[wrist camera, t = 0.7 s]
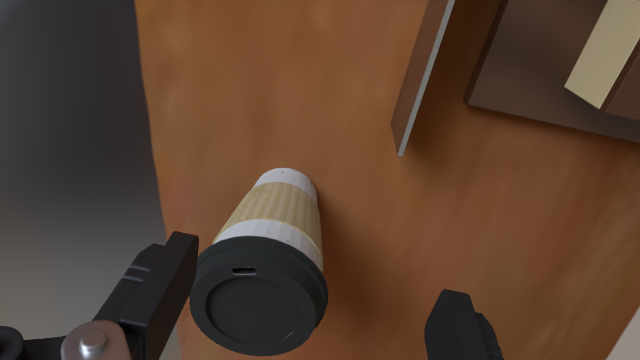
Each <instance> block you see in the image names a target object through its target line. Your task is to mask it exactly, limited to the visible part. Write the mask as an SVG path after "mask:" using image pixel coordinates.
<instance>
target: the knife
mask: <svg viewBox="0 0 640 360" xmlns="http://www.w3.org/2000/svg"><path fill="white" fill-rule="evenodd" d="M454 3H455V0H429V1H428V5H427V8H426V11H425V14H424V18H423V21H422V24H421V27H420V31H419V34H418V37H417V40H416V43H415V47H414V50H413V53H412V56H411V60H410V63H409V66H408V69H407V73H406V76H405V79H404V82H403V86H402V89H401V92H400V95H399V98H398V102H397V105H396V108H395V111H394V115H393V118H392V121H391V128H392V132H393V137H394V142H395V146H396V151H397V155H398V156H403V153H404V150H405V147H406V144H407V141H408V139H409V136H410V133H411V130H412V127H413V124H414V121H415V118H416V115H417V112H418V109H419V106H420V103H421V100H422V97H423V94H424V91H425V88H426V85H427V82H428V79H429V77H430V74H431V71H432V68H433V65H434V62H435V59H436V56H437V53H438V50H439V47H440V44H441V41H442V38H443V35H444V32H445V29H446V26H447V23H448V20H449V17H450V14H451V12H452V9H453V6H454Z"/></svg>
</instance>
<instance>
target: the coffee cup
mask: <svg viewBox="0 0 640 360" xmlns="http://www.w3.org/2000/svg"><path fill="white" fill-rule="evenodd" d="M189 299H190V303H189V304H190V310H191V314H192V317H193V319H194V321H195V323H196V324H197V326H198V327H199V328H200V330H201V331H202V332H203V333H204V334H205V335H206V336H207V337H208V338H210V339H211V340H213V341H214V342H215V343H217V344H219V345H221V346H223V347H224V348H226V349H229V350H232V351H234V352H237V353H241V354H246V355H252V356H273V355H279V354H283V353H286V352H289V351H291V350H294V349H295V348H297V347H299V346H300V345H302V344H303V343H304V342H305V341H306V340H307V339H308V338H309V337H310V335H311V334H312V332H313V330H314V329H315V328H316V327H317V326H318V324H319V323H320V321H321V320H322V318H323V316H324V313H325V310H326V307H327V304H328V288H327V283H326V280H325V278H324V276H323V253H322V239H321V226H320V215H319V210H318V207H317V194H316V189H315V187H314V185H313V183H312V182H311V180H310V179H309V178H308V177H307V176H305V175H304V174H302V173H301V172H299V171H296V170H294V169H289V168H276V169H273V170H270V171H268V172H266V173H264V174H263V175H262V176H261V177H260V178H259V179H258V181H257V182H256V184H255V185H254V187H253V188H252V189H251V190H250V191H249V192H248V193H247V194H246V196H245V197H244V198H243V200H242V201H241V203H240V204H239V205H238V207H237V208H236V210H235V211H234V212H233V214H232V215H231V217H230V218H229V220H228V221H227V222H226V224H225V225H224V227H223V228H222V229H221V231H220V232H219V234H218V235H217V236H216V238H215V239H214V241H213V244H212V245H211V246H209V247H208V248H206V249H205V250H204V251H203V252H202V253H200V255H199V256H198V259H197V271H196V277H195V281H194V284H193V287H192V290H191V292H190V294H189Z"/></svg>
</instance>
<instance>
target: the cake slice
mask: <svg viewBox="0 0 640 360" xmlns="http://www.w3.org/2000/svg"><path fill="white" fill-rule="evenodd" d="M564 87H565V88H567V89H568V90H570V91H572V92H573V93H575V94H576V95H578V96H579V97H581V98H582V99H584V100H586V101H587V102H589V103H590V104H592V105H593V106H595V107H596V108H598V109H600V110H601V111H603V112H604V113H607V114H611V115H616V116H620V117H625V118H629V119H634V120H638V121H640V0H608V2H607V4H606V6H605V7H604V9H603V11H602V13H601V15H600V17H599V19H598V21H597V23H596V25H595V27H594V29H593V31H592V33H591V35H590V37H589V39H588V41H587V43H586V45H585V47H584V49H583V51H582V53H581V55H580V57H579V59H578V61H577V63H576V65H575V67H574V68H573V70H572V72H571V74H570V76H569V78H568V80H567V82H566V84H565V86H564Z"/></svg>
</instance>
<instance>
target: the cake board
mask: <svg viewBox="0 0 640 360" xmlns="http://www.w3.org/2000/svg"><path fill="white" fill-rule="evenodd" d="M607 2H608V0H502V1H501V3H500V6H499V8H498V11H497V13H496V16H495V19H494V21H493V24H492V26H491V29H490V31H489V34H488V37H487V39H486V42H485V44H484V47H483V49H482V52H481V54H480V57H479V60H478V62H477V65H476V67H475V70H474V72H473V75H472V78H471V80H470V83H469V85H468V88H467V90H466V93H465V95H464V98H463V99H464V100H465V102H466V103H467V104H468V105H472V106H476V107H481V108H485V109H489V110H494V111H498V112H503V113H507V114H512V115H516V116H521V117H525V118H530V119H534V120H539V121H543V122H548V123H552V124H556V125H561V126H565V127H570V128H574V129H579V130H583V131H588V132H592V133H597V134H601V135H606V136H610V137H614V138H619V139H623V140H628V141H632V142H637V143H640V121H638V120H634V119H629V118H625V117H620V116H616V115H611V114H607V113H604V112H603V111H601V110H600V109H598V108H596V107H595V106H593V105H592V104H590V103H589V102H587V101H586V100H584V99H582V98H581V97H579V96H578V95H576V94H575V93H573V92H572V91H570V90H568V89H567V88H565V87H564V86H565V84H566V82H567V80H568V78H569V76H570V74H571V72H572V70H573V68H574V67H575V65H576V63H577V61H578V59H579V57H580V55H581V53H582V51H583V49H584V47H585V45H586V43H587V41H588V39H589V37H590V35H591V33H592V31H593V29H594V27H595V25H596V23H597V21H598V19H599V17H600V15H601V13H602V11H603V9H604V7H605V6H606V4H607Z"/></svg>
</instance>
